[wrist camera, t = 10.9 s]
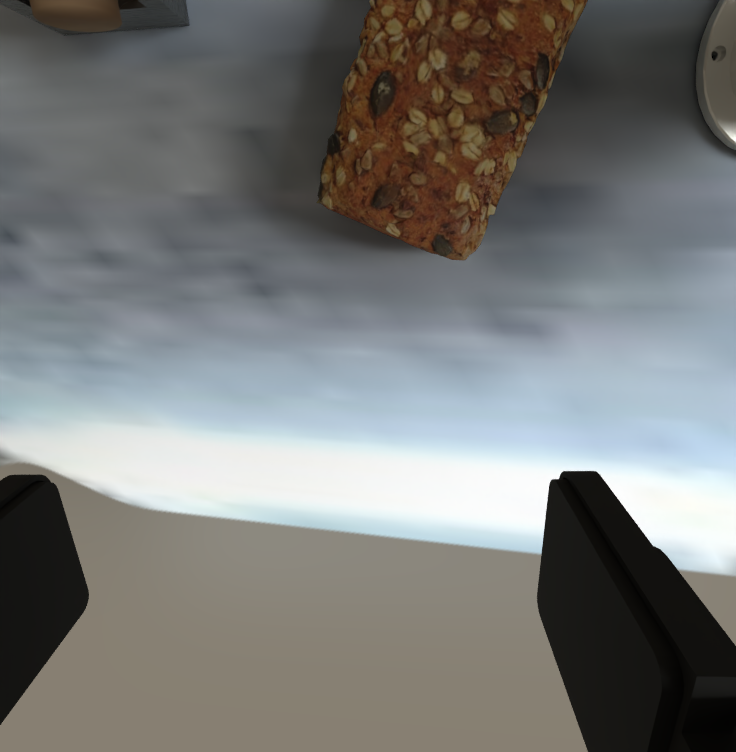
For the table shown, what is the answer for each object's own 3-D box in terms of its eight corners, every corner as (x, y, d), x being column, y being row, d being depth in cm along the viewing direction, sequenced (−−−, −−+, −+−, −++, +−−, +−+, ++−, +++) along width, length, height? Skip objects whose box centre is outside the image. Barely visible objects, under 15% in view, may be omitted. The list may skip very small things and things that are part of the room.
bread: (452, 254, 37) (474, 275, 27) (320, 199, 36) (295, 201, 26) (579, -29, 30) (664, -129, 21) (422, -106, 29) (439, -246, 20)
